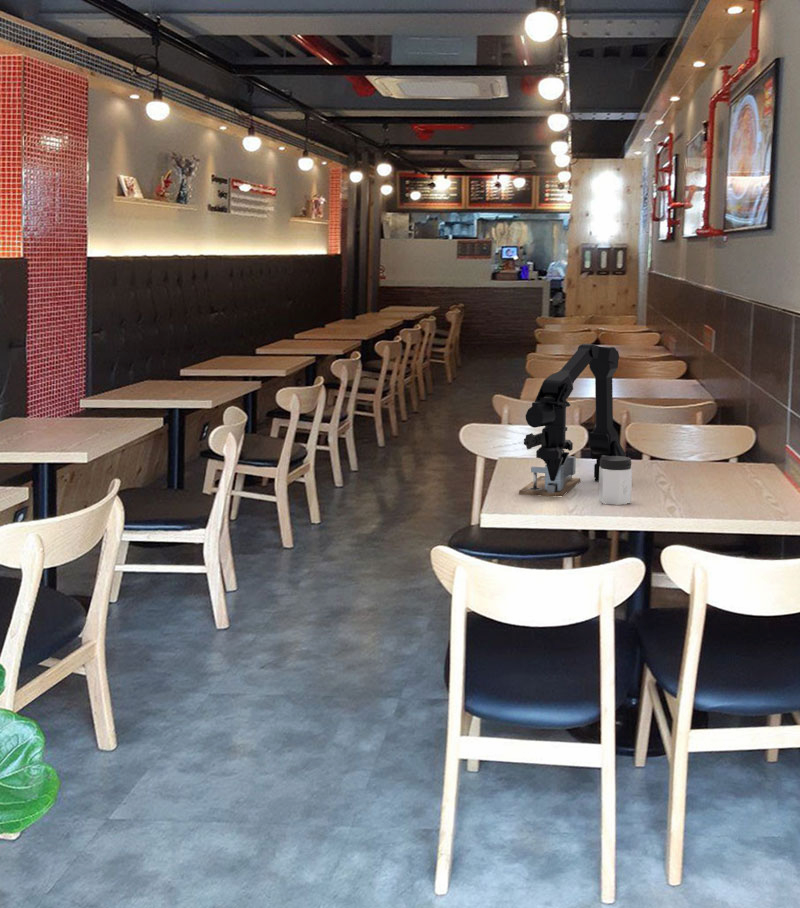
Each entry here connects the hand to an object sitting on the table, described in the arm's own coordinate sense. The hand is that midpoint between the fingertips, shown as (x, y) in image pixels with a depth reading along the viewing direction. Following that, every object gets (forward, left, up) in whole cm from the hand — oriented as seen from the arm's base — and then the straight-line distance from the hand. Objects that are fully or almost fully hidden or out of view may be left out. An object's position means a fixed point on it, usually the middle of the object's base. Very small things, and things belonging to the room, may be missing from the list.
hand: (554, 479), depth 324 cm
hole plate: (+3, -8, -4) cm, 10 cm away
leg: (+2, 0, -3) cm, 3 cm away
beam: (+2, -7, -3) cm, 8 cm away
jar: (-18, +6, -4) cm, 19 cm away
